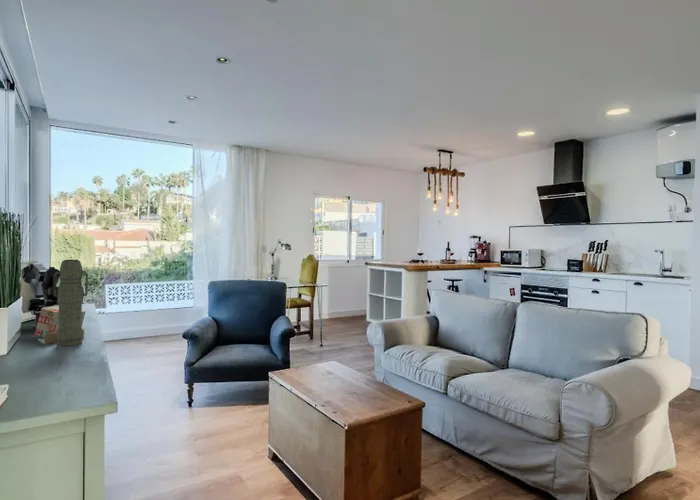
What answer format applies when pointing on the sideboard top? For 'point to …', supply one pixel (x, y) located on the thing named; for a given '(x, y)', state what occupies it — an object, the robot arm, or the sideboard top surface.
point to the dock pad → (51, 338)
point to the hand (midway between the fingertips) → (57, 317)
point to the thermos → (70, 303)
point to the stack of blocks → (50, 321)
